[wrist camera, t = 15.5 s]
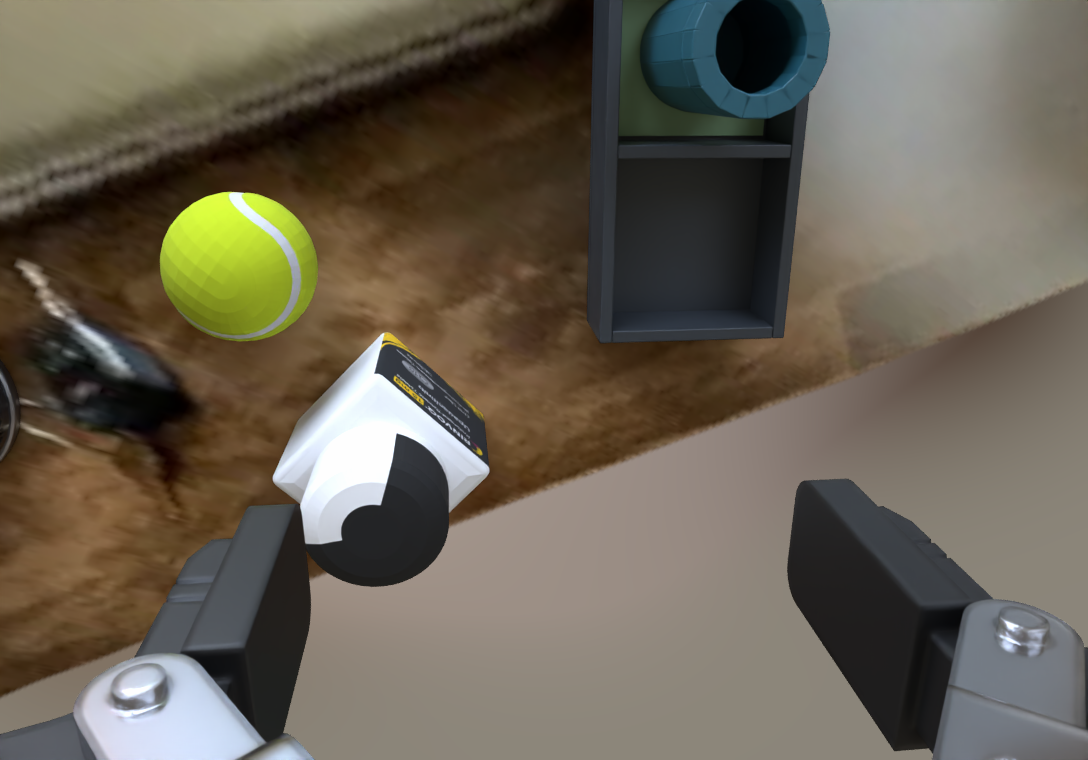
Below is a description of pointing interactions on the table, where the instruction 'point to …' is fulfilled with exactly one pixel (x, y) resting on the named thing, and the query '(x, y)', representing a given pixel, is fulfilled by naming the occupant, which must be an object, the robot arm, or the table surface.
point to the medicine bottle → (382, 466)
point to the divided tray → (683, 204)
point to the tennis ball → (238, 266)
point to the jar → (735, 55)
